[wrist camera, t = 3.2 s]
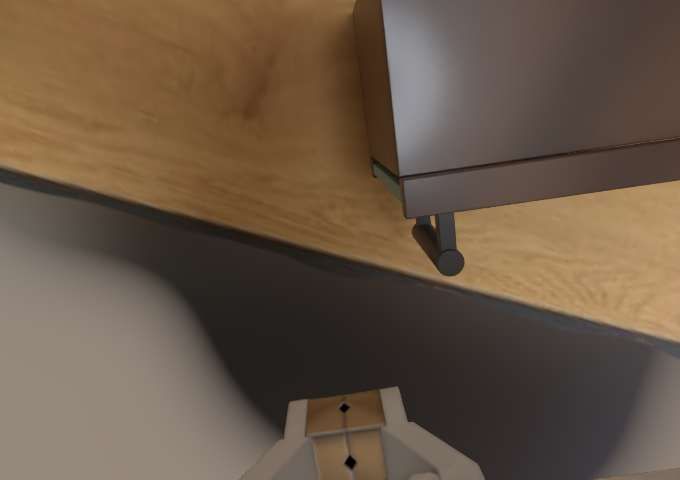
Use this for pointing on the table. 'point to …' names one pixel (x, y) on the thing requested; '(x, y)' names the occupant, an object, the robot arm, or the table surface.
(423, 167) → the brown wooden cabinet
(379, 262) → the table surface
